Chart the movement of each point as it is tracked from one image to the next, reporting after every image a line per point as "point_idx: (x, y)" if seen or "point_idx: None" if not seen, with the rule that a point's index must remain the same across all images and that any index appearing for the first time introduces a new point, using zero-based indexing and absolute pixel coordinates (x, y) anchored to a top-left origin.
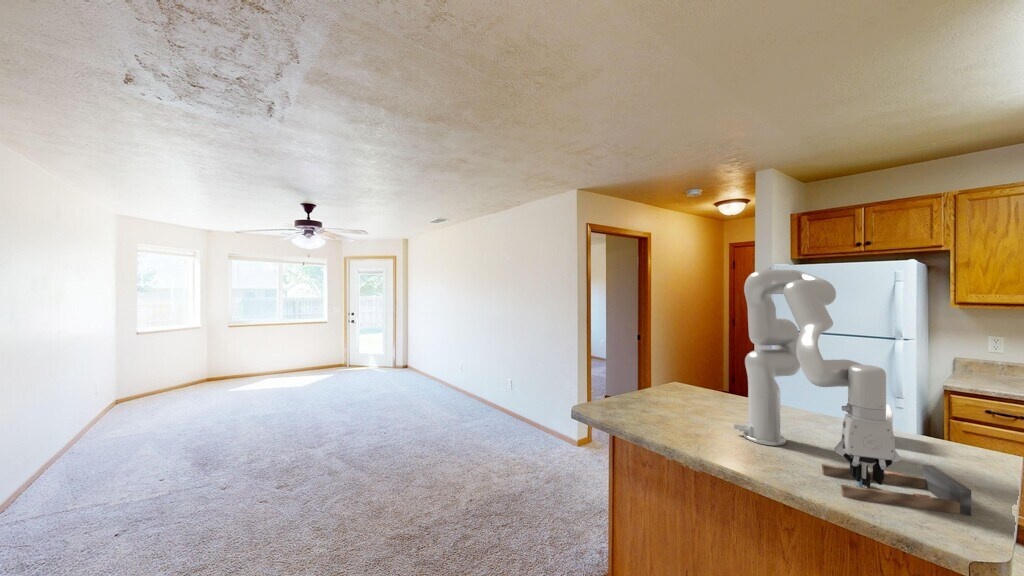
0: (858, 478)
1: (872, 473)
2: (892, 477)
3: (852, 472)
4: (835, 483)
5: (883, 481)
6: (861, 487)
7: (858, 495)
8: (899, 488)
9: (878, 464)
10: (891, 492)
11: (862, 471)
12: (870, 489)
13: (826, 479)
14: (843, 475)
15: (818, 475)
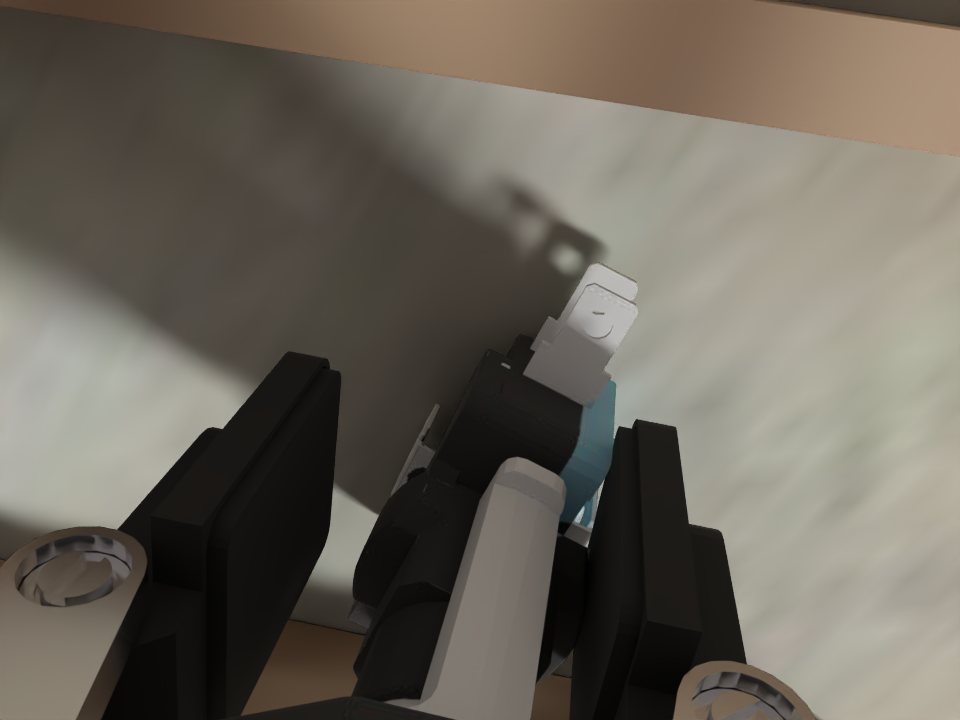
0: (661, 448)
1: None
2: None
3: (726, 578)
4: (864, 519)
5: None
6: (825, 129)
7: (915, 21)
8: (28, 477)
9: (126, 694)
10: (300, 5)
11: (534, 578)
12: (682, 60)
13: (911, 620)
14: None
15: (938, 716)
